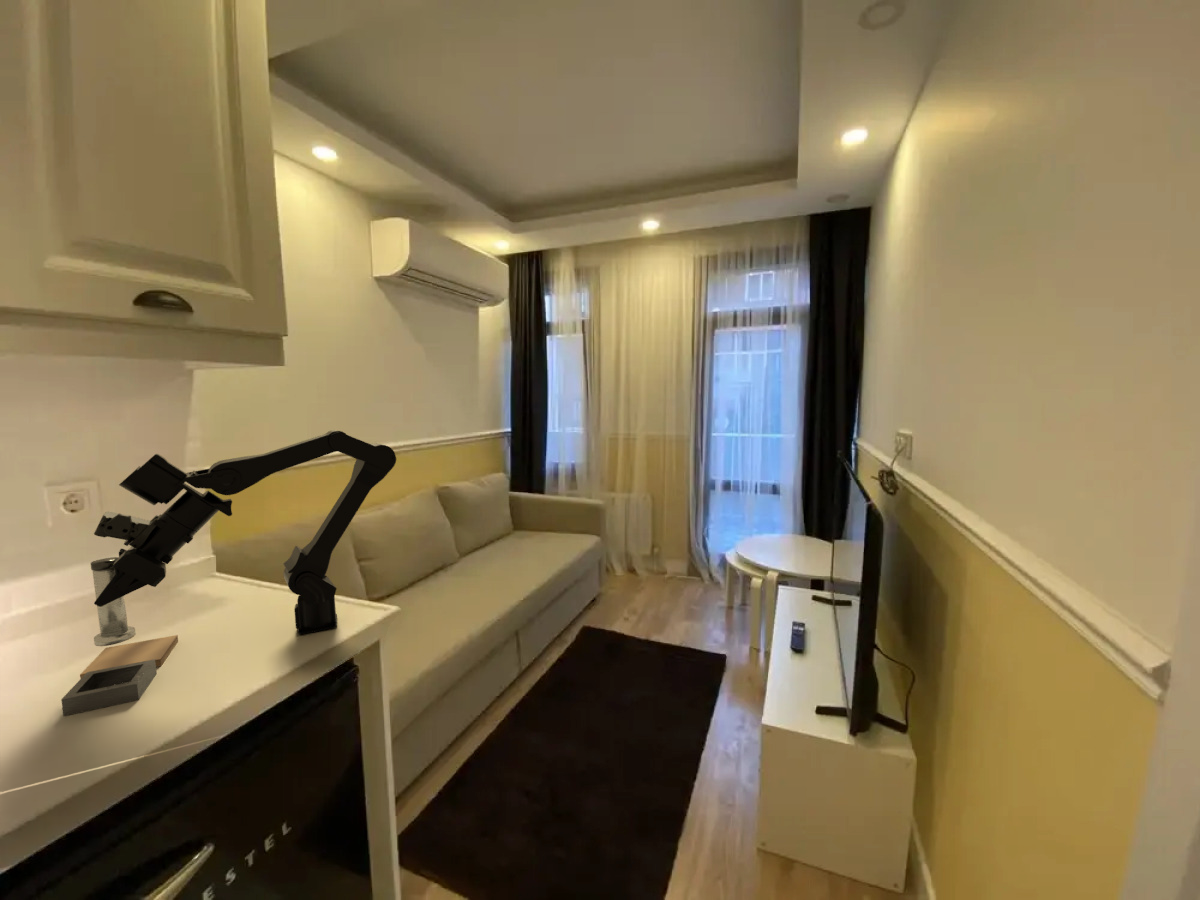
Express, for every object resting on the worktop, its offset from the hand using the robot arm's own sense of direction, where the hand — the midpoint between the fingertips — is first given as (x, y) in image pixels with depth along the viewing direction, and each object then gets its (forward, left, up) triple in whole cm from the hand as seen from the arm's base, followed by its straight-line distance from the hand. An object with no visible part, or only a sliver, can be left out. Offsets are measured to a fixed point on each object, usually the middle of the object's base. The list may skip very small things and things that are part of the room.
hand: (98, 601), depth 80 cm
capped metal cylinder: (-1, 0, -7) cm, 7 cm away
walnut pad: (-1, -6, -13) cm, 14 cm away
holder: (-2, +6, -13) cm, 14 cm away
